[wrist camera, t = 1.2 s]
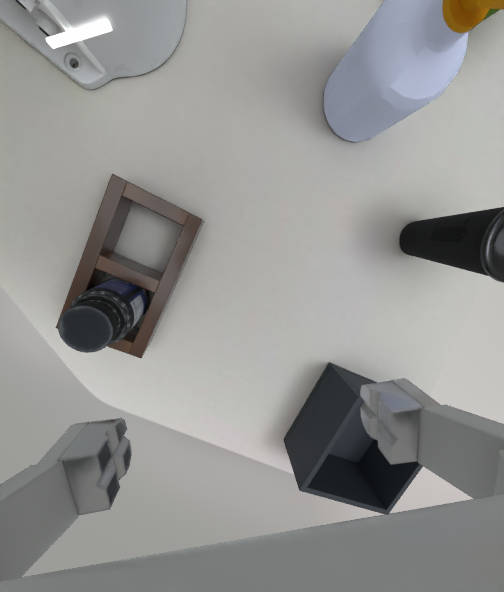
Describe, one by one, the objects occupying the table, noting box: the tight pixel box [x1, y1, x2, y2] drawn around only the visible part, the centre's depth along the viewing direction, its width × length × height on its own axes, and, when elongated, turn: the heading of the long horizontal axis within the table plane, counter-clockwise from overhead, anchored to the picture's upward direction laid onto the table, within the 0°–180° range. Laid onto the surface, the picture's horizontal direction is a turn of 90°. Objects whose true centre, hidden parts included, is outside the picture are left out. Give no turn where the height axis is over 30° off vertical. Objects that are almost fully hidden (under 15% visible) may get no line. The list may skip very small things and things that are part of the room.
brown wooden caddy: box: [56, 174, 204, 358], centre depth 31 cm, size 10×19×4 cm, turn 153°
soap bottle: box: [324, 0, 504, 142], centre depth 20 cm, size 9×9×25 cm
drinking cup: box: [400, 207, 504, 282], centre depth 28 cm, size 8×8×20 cm
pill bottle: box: [58, 277, 149, 353], centre depth 29 cm, size 6×6×11 cm
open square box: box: [284, 363, 423, 514], centre depth 39 cm, size 16×16×9 cm
